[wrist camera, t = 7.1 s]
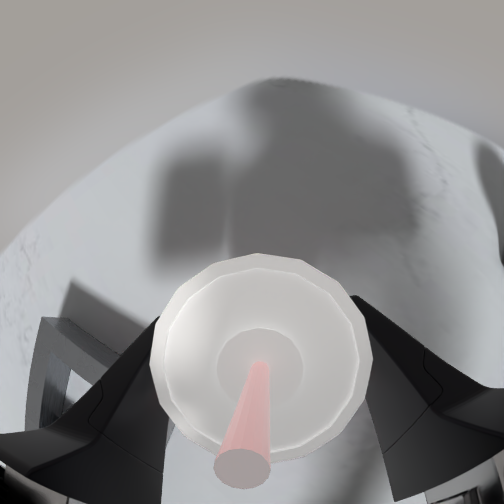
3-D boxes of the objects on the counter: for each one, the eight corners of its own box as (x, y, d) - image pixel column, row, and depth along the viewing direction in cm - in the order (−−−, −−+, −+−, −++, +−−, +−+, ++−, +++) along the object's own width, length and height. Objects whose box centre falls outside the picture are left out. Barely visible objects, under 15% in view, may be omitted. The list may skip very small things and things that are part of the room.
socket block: (133, 528, 12) (120, 544, 9) (43, 464, 14) (25, 473, 11) (188, 392, 15) (173, 406, 12) (67, 318, 17) (41, 316, 14)
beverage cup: (314, 286, 16) (480, 149, 2) (317, 386, 14) (450, 552, 1) (211, 290, 16) (19, 176, 3) (214, 389, 15) (66, 548, 1)
